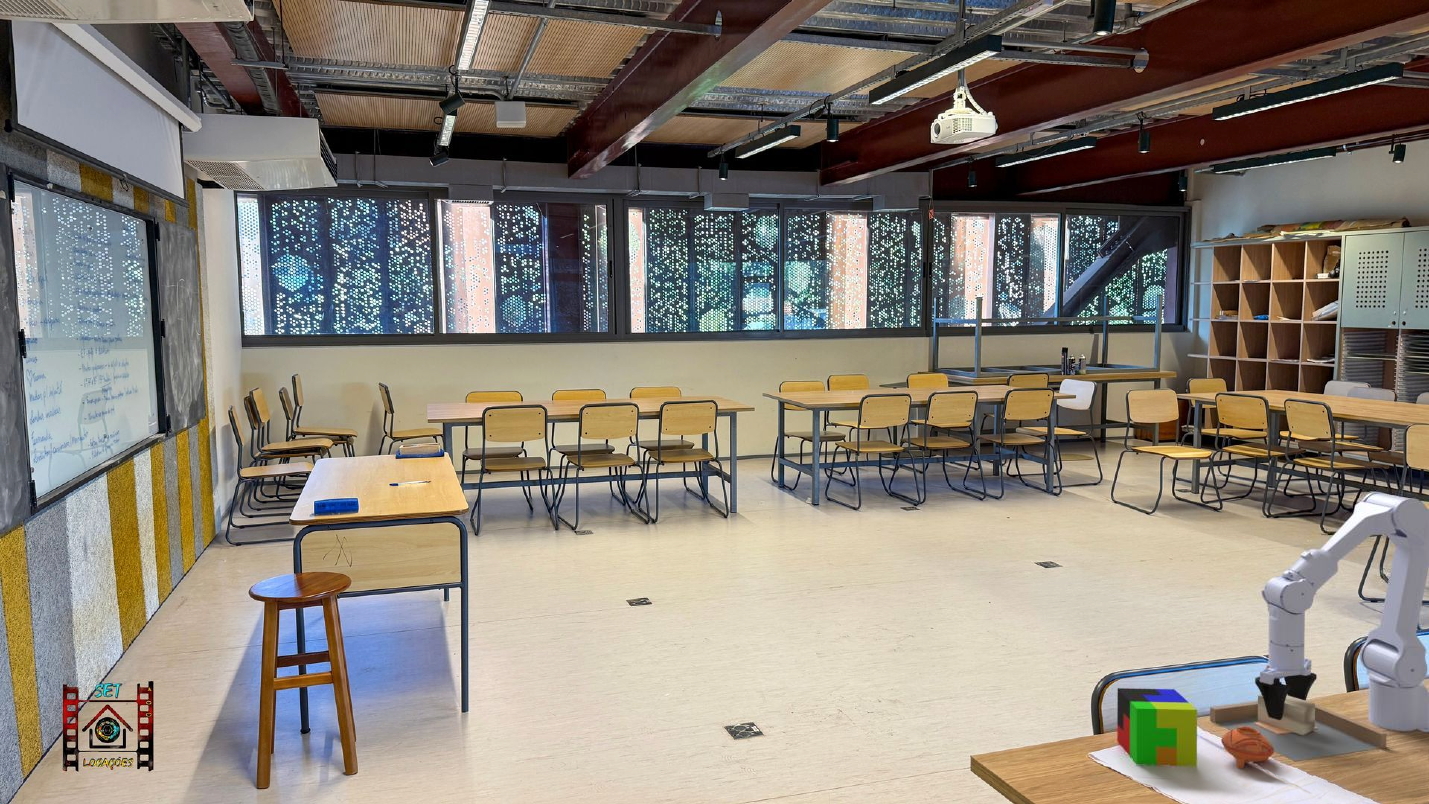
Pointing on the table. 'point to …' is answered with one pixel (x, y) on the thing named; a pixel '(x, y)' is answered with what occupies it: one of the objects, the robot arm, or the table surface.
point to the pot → (1247, 745)
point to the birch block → (1290, 715)
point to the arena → (1325, 740)
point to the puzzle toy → (1157, 727)
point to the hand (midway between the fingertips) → (1285, 713)
